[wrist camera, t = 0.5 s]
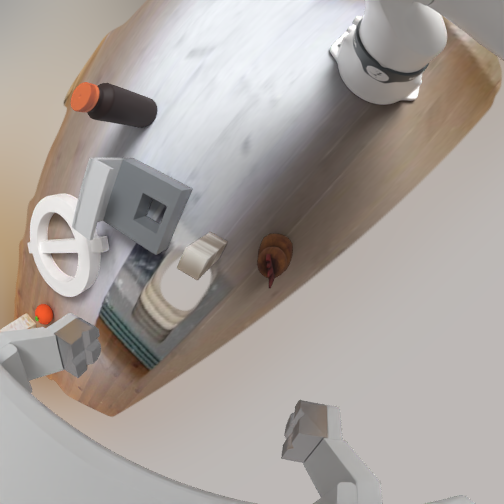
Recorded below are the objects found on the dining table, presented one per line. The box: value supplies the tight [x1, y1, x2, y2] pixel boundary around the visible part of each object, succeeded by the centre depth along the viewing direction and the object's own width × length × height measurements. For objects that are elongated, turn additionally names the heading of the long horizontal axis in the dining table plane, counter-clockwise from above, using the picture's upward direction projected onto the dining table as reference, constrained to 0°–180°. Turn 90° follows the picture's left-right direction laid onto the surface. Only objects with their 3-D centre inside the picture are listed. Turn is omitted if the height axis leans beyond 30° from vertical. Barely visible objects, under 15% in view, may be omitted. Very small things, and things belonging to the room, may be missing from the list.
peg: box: [177, 232, 227, 280], centre depth 49 cm, size 4×4×12 cm
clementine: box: [35, 304, 53, 325], centre depth 69 cm, size 8×7×7 cm
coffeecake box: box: [0, 313, 36, 332], centre depth 71 cm, size 15×7×20 cm, turn 149°
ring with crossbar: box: [28, 194, 109, 297], centre depth 61 cm, size 28×28×5 cm
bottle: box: [71, 82, 157, 128], centre depth 40 cm, size 7×7×20 cm
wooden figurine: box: [257, 234, 293, 288], centre depth 45 cm, size 7×6×15 cm
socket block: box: [72, 158, 192, 255], centre depth 48 cm, size 14×16×14 cm
